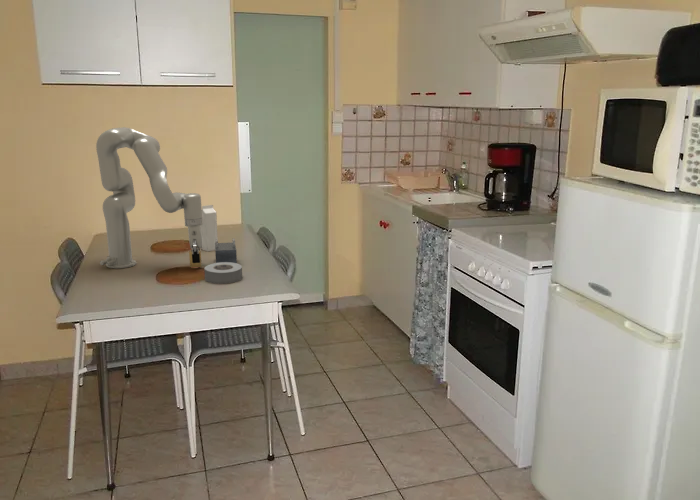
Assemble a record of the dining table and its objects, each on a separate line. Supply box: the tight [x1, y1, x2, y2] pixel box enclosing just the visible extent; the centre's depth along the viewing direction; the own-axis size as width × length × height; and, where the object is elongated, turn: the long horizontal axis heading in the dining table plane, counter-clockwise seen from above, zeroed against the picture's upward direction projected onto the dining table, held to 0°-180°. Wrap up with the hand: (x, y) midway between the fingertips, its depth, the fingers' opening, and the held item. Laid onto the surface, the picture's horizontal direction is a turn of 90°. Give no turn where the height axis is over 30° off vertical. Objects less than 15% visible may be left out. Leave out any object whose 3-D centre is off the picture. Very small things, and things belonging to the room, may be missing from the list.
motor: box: [214, 238, 238, 264], centre depth 271 cm, size 17×9×11 cm, turn 13°
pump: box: [188, 249, 202, 268], centre depth 265 cm, size 5×5×8 cm
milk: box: [200, 204, 219, 252], centre depth 293 cm, size 6×6×22 cm
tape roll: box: [204, 262, 243, 285], centre depth 249 cm, size 15×15×5 cm
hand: (196, 259), depth 265 cm, fingers open, 9 cm apart
